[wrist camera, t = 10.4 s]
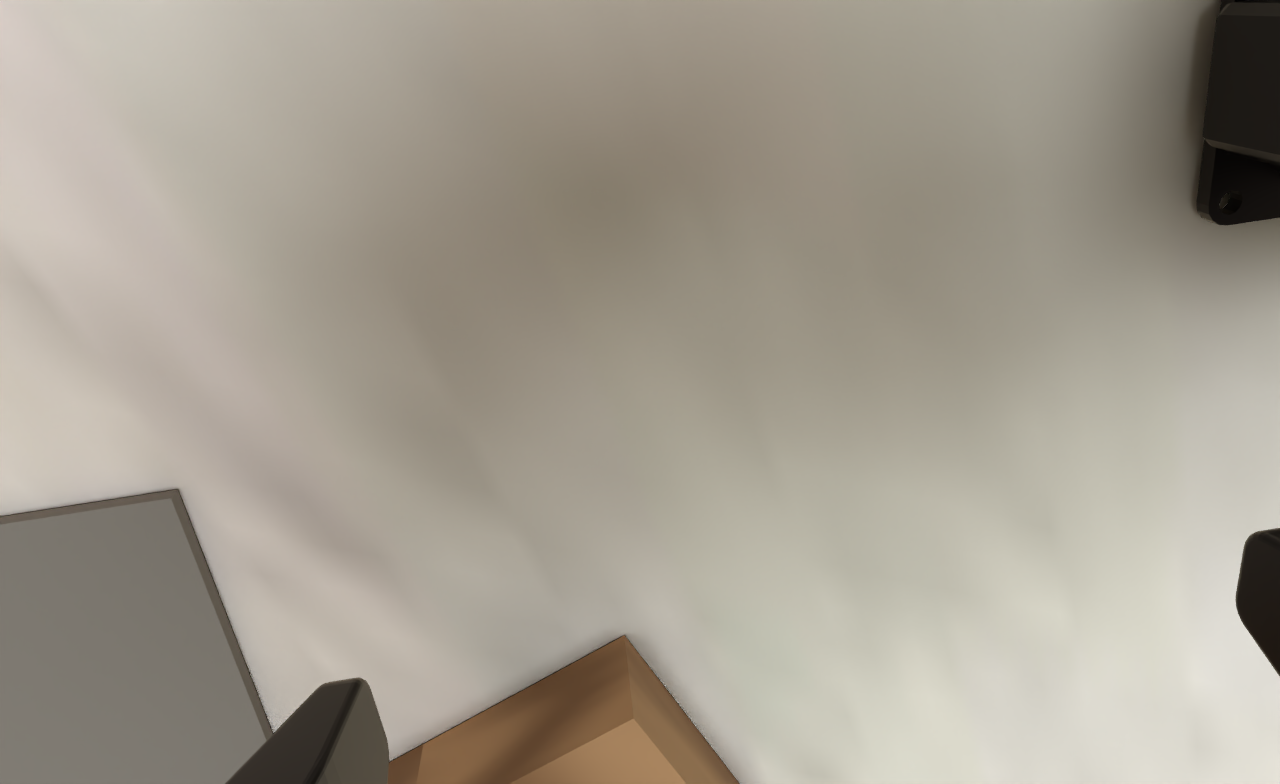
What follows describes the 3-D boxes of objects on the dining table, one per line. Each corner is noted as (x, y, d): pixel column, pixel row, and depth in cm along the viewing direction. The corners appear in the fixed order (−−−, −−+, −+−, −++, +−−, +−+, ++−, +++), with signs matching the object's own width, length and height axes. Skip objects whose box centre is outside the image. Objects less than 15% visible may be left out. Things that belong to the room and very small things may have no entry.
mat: (177, 489, 21) (171, 498, 21) (299, 801, 25) (294, 812, 25) (-261, 557, 21) (-275, 567, 20) (-66, 861, 25) (-75, 873, 24)
